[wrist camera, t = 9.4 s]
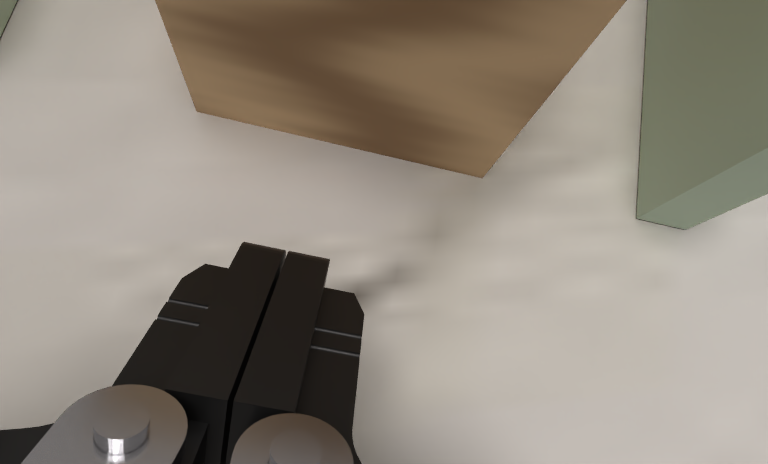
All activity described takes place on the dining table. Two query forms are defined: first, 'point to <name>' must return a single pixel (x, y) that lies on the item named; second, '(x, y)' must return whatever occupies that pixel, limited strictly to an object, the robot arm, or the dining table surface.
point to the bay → (695, 108)
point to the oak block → (384, 68)
